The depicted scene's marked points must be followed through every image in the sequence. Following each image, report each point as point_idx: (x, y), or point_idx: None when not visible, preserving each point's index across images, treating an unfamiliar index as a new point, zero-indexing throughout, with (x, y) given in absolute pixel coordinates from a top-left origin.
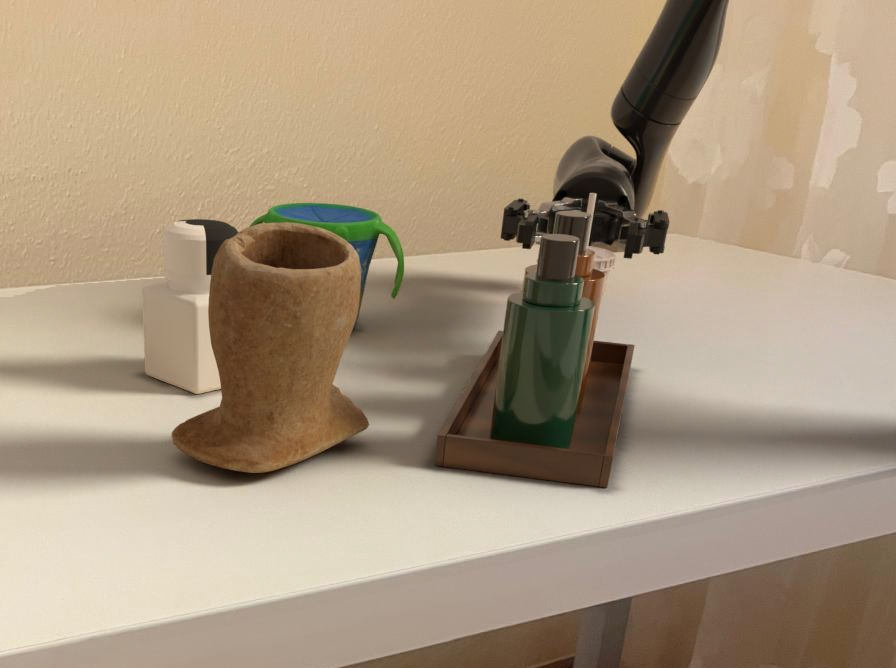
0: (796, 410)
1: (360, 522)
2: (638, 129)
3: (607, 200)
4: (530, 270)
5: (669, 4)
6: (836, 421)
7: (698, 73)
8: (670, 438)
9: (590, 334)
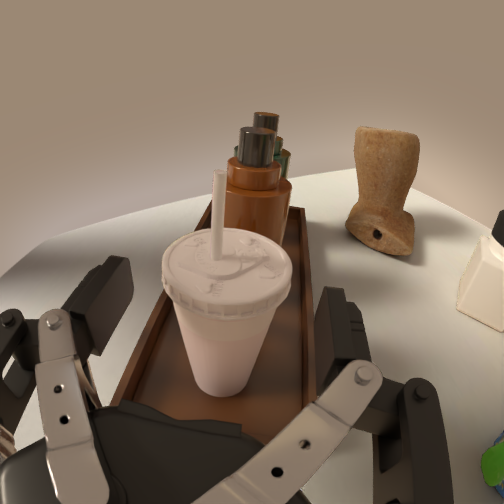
0: None
1: (314, 193)
2: None
3: (73, 475)
4: (286, 182)
5: None
6: (10, 292)
7: None
8: (150, 259)
9: None
